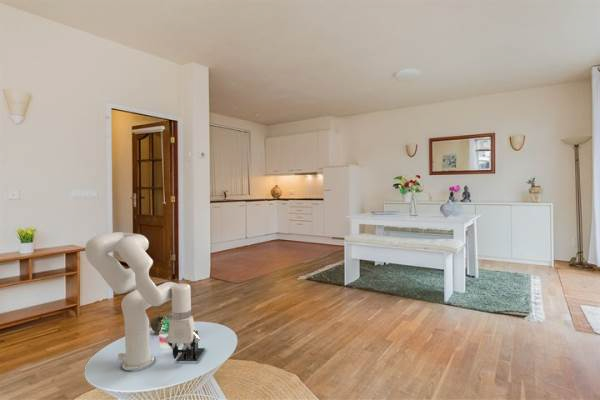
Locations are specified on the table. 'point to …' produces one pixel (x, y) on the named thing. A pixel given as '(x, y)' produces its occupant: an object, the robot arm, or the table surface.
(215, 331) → the table surface
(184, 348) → the lever
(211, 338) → the table surface
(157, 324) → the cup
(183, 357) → the bracket
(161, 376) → the table surface
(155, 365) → the table surface
